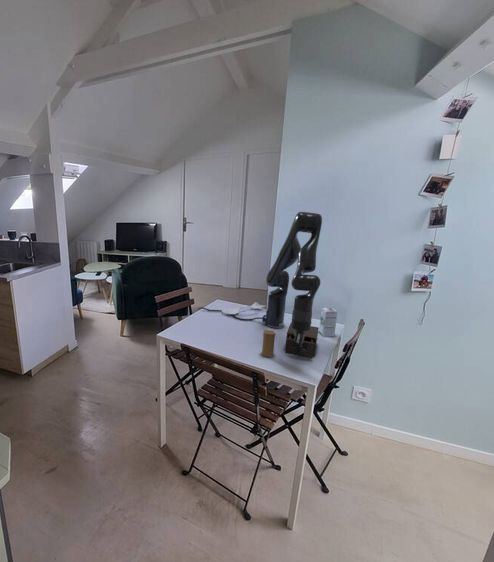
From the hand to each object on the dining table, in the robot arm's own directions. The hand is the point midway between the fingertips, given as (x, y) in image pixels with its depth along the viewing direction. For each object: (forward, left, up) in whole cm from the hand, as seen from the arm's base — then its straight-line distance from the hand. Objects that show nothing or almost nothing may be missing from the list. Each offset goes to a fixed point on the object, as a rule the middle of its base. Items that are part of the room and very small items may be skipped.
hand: (297, 353), depth 143 cm
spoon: (-38, +57, -5) cm, 68 cm away
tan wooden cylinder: (-13, +2, -5) cm, 14 cm away
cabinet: (0, +18, -5) cm, 18 cm away
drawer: (0, +10, -4) cm, 11 cm away
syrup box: (+10, +42, -5) cm, 43 cm away
